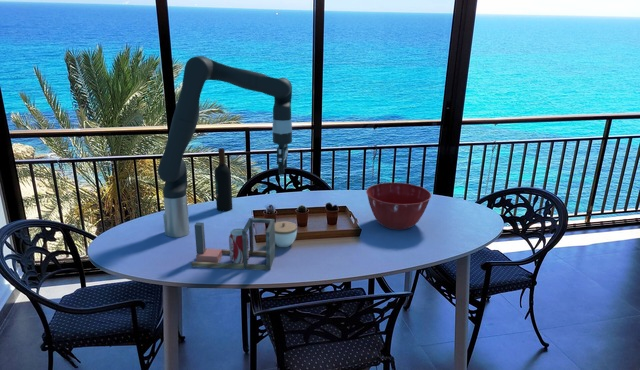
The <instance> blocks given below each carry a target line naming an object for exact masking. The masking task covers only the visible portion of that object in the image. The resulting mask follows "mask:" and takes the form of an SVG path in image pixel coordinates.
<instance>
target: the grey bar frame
mask: <svg viewBox="0 0 640 370" xmlns="http://www.w3.org/2000/svg"><path fill="white" fill-rule="evenodd" d="M275 221H276V220H275V218H256V217H254V218H253V217H252V218H251V217H250V218H248V220H247V222H246V224H245V226H244V227H243V228H242V229H243V231H242V237H243V261H244V263H243V264H236V263H233V262H218V263H213V262H196V261H191V262H190V267H192V268H207V269H208V268H211V269H212V268H213V269H228V270H229V269H233V270H256V271H271V269H272V265H273V264H274V263H273V262H274V261H275V260H274V259H275V257H276V244H275V223H276V222H275ZM255 223H256V224H268V227H267V228H266V232H265V239H266V240H265V246H266V247H265V249H266V250H254V248H255V247H254V226H253V225H254V224H255ZM246 233H247V234H248V242H249V256H253V257H254V256H260V257H265V258H266V264H257V263H248V261H249V259H247V234H246ZM222 255H230V249H229V248H226V249H225V248H222Z"/></svg>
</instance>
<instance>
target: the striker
mask: <svg viewBox="0 0 640 370" xmlns="http://www.w3.org/2000/svg"><path fill="white" fill-rule="evenodd" d="M193 227H194V235H195V236H194V237H195V249H196V256H195V259H196V260H195V262H213V263H220V260H221V259H222V257H223V254H222V249H223V248H222V249H221V248H206V239H205V238H206V237H205V236H206V235H205V224H204V222H195V224H194V226H193Z"/></svg>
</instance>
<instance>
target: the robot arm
mask: <svg viewBox="0 0 640 370" xmlns="http://www.w3.org/2000/svg"><path fill="white" fill-rule="evenodd" d="M206 81H219V82H224V83H227V84H229V85H234V86H236V87H239V88H240V89H245V90H249V91H252V92H257V93H262V94H265V95H267V96H270V97H273V98H274V104H273V107H272V143H273V144H275V145H278V146H277V147H276V164H277V173H278V174H279V175H284V174H285V169H286V168H288V156H289V147H288V146H289V145H290V144H291V143H292V142H293V123H292V99H293V96H292V95H293V84H292V82H291V81H290V80H289V79H288V78H286V77H279V78H277V77H272V76H268V75H266V74H265V73H261V72H258V71H252V70H248V69H244V68H238V67H233V66H230V65H226V64H223V63H220V62H218V61H215V60H213V59H211V58H209V57H207V56H203V55H198V56H192V57H190V58H189V59H188V60H187V61H186V63H185V66H184V70H183V76H182V84H181V88H180V94H179V95H178V99H177V102H176V106H175V109H174V113H173V116H172V120H171V124H170V127H169V128H170V129H169V133H168V135H167V136H168V137H167V141H166V144H165V148H164V152H163V154H162V157H161V159H160V161H159V163H158V167H157V175H158V177H159V179H160V180H161V181H163V182H164V186H163V190H162V197H163V207H164V213H163V214H162V216H163V225H164V226H163V227H164V235H165V236H168V237H170V238H183V237H186V236H187V235H189V234H190V222H189V221H190V220H189V207H188V196H187V189H188V171H187V169H188V168H187V164H186V161H184V159H183V157H184V154H185V151H186V149H187V147H188V145H189V144H190V142H191V141H192V138H193V137H194V134H195V133H196V129H197V125H198V121H199V117H200V98H201V94H202V91H203V88H204V85H205V83H206Z"/></svg>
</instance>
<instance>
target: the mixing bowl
mask: <svg viewBox="0 0 640 370" xmlns="http://www.w3.org/2000/svg"><path fill="white" fill-rule="evenodd" d="M366 195H367V199H368V204H369V206H370V207H369V208H370V210H371V212H372V214H373V216H374V218H375V220H376V221H377V222H378V224H380V225H382V226H383V227H385V228H387V229H390V230H394V231H401V230H402V231H403V230H407V229H409V228H411V227H413V226H415V225H417V223H418V222H420V220H421V218H422V217H423V215H424V213H425V211H426V209H427V207H428V204H429V202H430V199H431V198H432V193H431V192H430V191H429V190H428V189H426V188H425V187H422V186H419V185H417V184H416V185H415V184H411V183H405V182H382V183H378V184H373V185H370V186H369V187H368V188H367V189H366Z"/></svg>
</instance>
